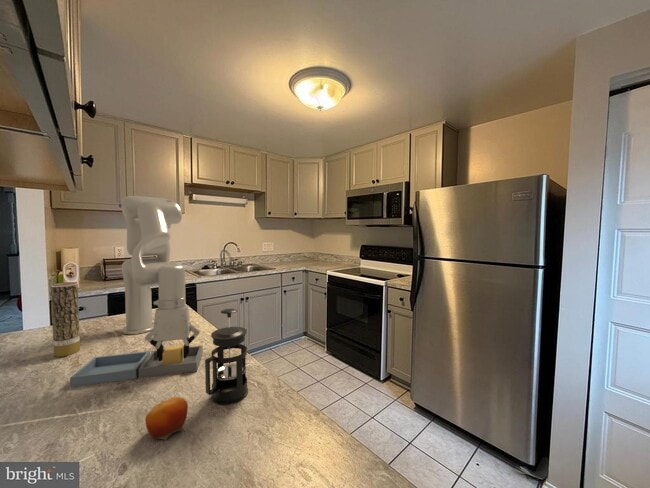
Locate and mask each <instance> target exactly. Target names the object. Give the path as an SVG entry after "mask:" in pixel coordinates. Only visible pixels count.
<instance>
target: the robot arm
mask: <svg viewBox="0 0 650 488" xmlns="http://www.w3.org/2000/svg"><path fill="white" fill-rule="evenodd" d="M120 204H121V205H120V207H121V212H122V215H123V217H124V219H125V222H126V252H127V253H128V255H129V256H131V258H129V259H125V260H124V261H123V263H122V265H121V274H122V278H123V282H124V298H125V300H124V302H125V305H124V306H125V327H123V328H121V333H122V334H123V335H138V334H144V333H147V334H146V335H145V336H144V340H146V341H147V342H148V343H149V344H151V345H152V346H153V347H154V349H155V350H157V358H159V361H161V360H162V359H163V352H164V350H165V348H164V345H163V342H170V341H179V340H182V342H183V344H184V345H183V357H184V358H186V357H187V355H188V354H189V352H190V350H189V347H190V344H191V343H192V342H193V341H194V340H195V339H196V338H197V336H199V334H200V333H201V331H200V330H199V329H198V328H196V327H195V326H194V325H193V324H192V323H191V317H190V308H189V305H186V301H187V300H186V268H185V267H184V265H183V264H180V263H179V262H175V261H173V262H172V261H170V254H171V253H170V252H171V243H170V239H171V234H170V229H169V226H168V225H170V224H171V225H172V224H173V225H178V224H180V223H181V222H182V219H183V212H182V211H183V210H182V209H181V206H180V205H179V203H177V202H175V201H174V200H172V199H170V198H163V197H153V196H152V197H150V196H143V195H141V196H140V195H130V196H129V195H127V196H125V197H122V200H121V203H120ZM150 256H151V257H150ZM153 256H154V257H153ZM156 286H158V299H157V300H154V301H153V303H152V289H151V287H156ZM152 304H153V305H154V306H157V308H156V309H155V311H154V312H155V313H154V318H153V312H152V311H153V306H152ZM153 319H154V320H153ZM148 332H149V333H148ZM191 332H192V333H193V334H192V335H191ZM190 335H191V336H190ZM189 336H190V337H189Z"/></svg>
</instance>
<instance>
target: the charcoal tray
mask: <svg viewBox="0 0 650 488" xmlns="http://www.w3.org/2000/svg"><path fill="white" fill-rule="evenodd" d="M189 350H190V352H189V354H188V355H187V357H186V358H184V360H183V362H182V363H177V364H169V365H163V359H162V360H161V361H159V358H157V349H155V350H152V351H150V355H149V356H148V358H147V359H146V360H145V362H144V363H143V364H142V366H141V367H140V368H139V375H138V379H142V378H151V377H158V376H165V375H166V376H167V375H172V374H173V375H174V374H188V373H189V374H190V373H197V372H198V369H199V366H200V363H201V360H202V357H203V345H193V346H189Z"/></svg>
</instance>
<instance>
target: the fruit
mask: <svg viewBox="0 0 650 488" xmlns="http://www.w3.org/2000/svg"><path fill="white" fill-rule="evenodd" d="M151 408H152V409H150V411H149V412H148V413H147V414H146V416H145V427H146V430H147V432H148V434H149V435H150V436H151V437H152V438H154V439H156V440H164V441H167V439H168V438H169V437H170V436H171V435H173V433H176V432H178V431H184V432H186V430H185V429H184V425H185V423H186V421H187V415H188V409H189V404H188V402H187V400H186V399H185V398H183V397H182V396H181V397H180V396H173V397H171V398H169V399H165V400H161V401H160V402H159V403H157V404H155V405H154V406H152V407H151Z"/></svg>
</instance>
